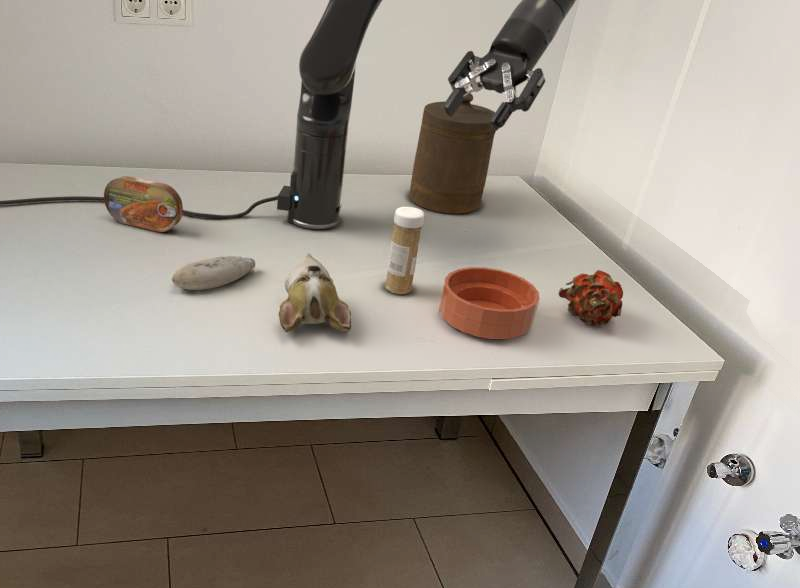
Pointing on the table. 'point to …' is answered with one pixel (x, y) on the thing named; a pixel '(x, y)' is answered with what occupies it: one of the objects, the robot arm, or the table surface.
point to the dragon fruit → (594, 297)
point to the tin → (143, 203)
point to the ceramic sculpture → (312, 298)
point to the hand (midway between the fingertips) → (469, 119)
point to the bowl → (488, 302)
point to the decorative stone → (212, 272)
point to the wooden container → (452, 157)
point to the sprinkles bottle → (404, 249)
